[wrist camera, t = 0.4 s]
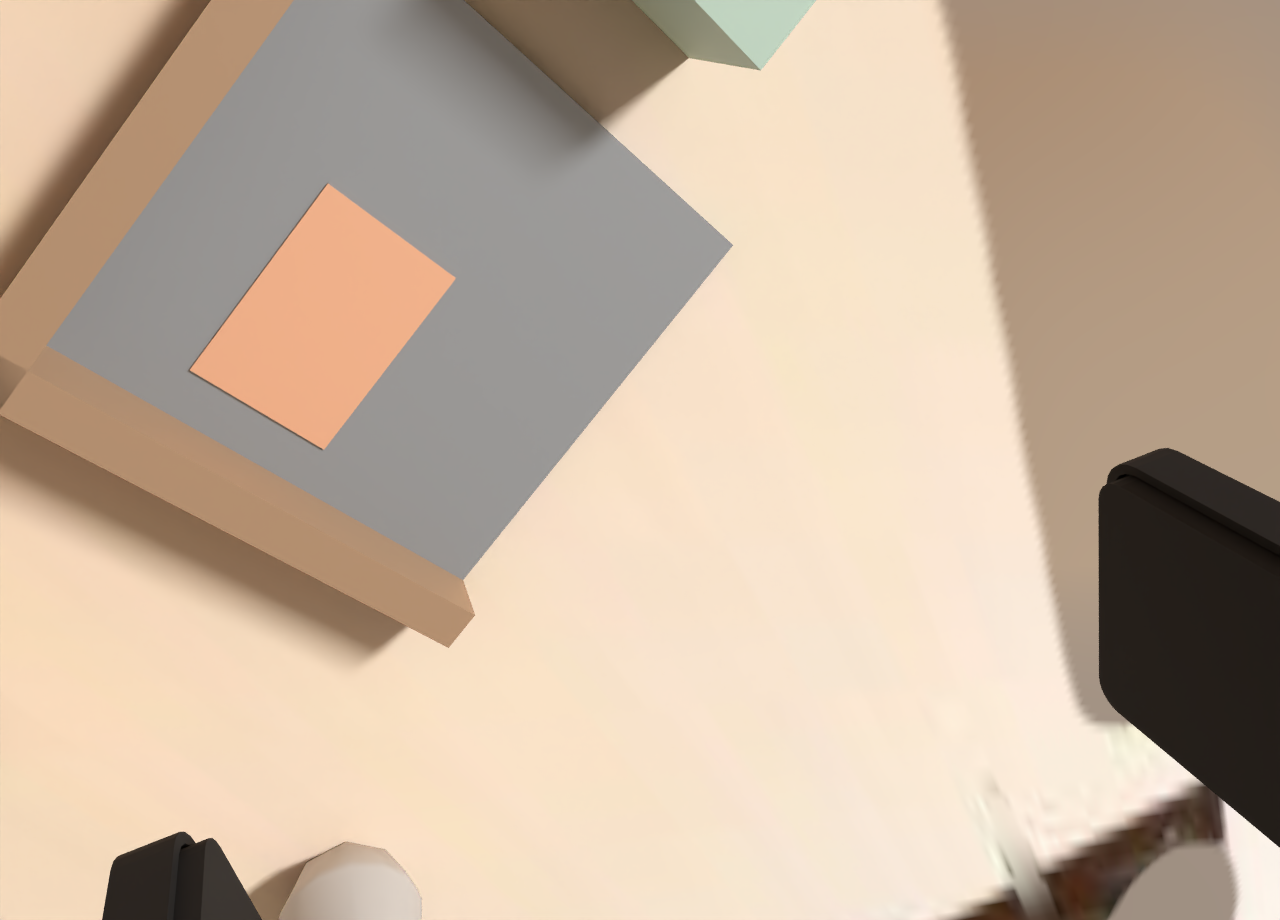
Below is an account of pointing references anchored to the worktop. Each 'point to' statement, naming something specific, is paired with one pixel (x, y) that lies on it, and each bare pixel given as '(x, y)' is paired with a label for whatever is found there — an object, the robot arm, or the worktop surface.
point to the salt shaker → (353, 887)
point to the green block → (727, 27)
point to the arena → (348, 291)
